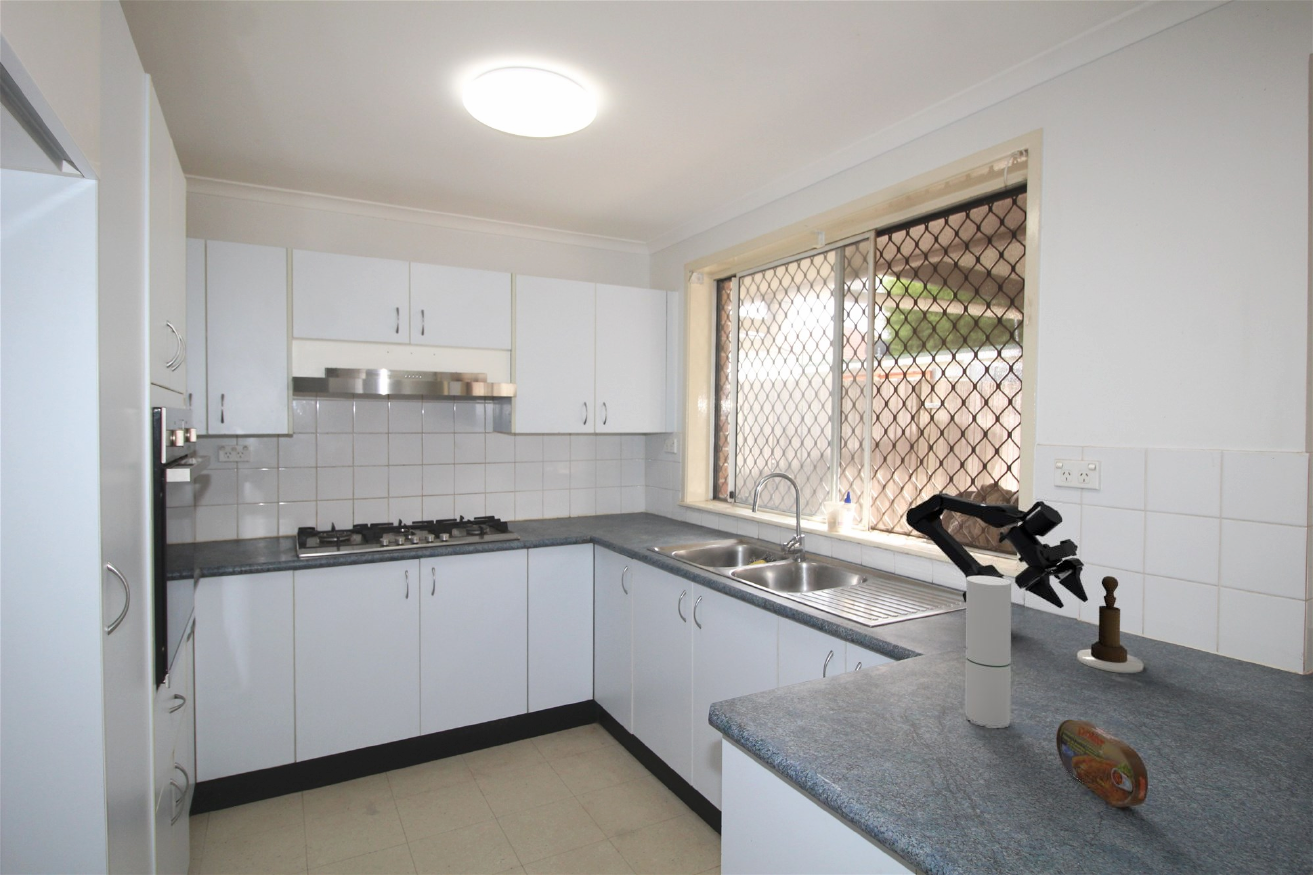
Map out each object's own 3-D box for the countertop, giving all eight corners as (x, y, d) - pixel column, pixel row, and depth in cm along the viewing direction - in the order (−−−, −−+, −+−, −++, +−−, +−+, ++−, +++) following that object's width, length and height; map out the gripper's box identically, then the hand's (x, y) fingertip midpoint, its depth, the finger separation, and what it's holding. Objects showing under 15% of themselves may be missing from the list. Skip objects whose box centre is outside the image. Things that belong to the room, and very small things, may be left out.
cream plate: (1084, 668, 143) (1084, 663, 143) (1072, 650, 155) (1072, 646, 155) (1151, 676, 139) (1151, 671, 139) (1133, 657, 150) (1133, 653, 150)
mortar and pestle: (1125, 656, 148) (1126, 575, 148) (1128, 665, 143) (1130, 581, 142) (1089, 651, 152) (1091, 572, 151) (1091, 659, 146) (1093, 577, 146)
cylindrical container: (1006, 714, 121) (1007, 577, 120) (1013, 731, 114) (1014, 586, 114) (963, 708, 123) (964, 574, 123) (967, 725, 117) (968, 583, 116)
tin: (1054, 763, 104) (1054, 709, 104) (1073, 762, 104) (1073, 708, 104) (1130, 820, 89) (1131, 758, 89) (1153, 819, 89) (1153, 757, 89)
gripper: (1027, 532, 153) (1075, 591, 144) (1076, 524, 162) (1124, 579, 152) (996, 559, 161) (1039, 617, 151) (1044, 550, 169) (1088, 604, 160)
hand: (1074, 604), depth 154 cm, fingers open, 9 cm apart
